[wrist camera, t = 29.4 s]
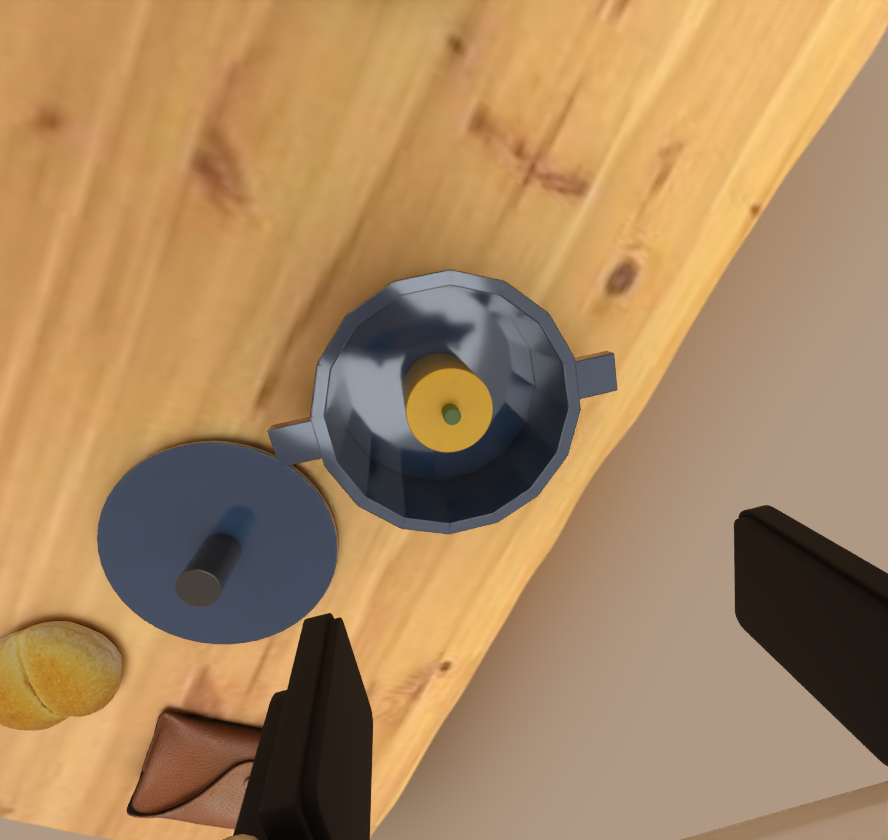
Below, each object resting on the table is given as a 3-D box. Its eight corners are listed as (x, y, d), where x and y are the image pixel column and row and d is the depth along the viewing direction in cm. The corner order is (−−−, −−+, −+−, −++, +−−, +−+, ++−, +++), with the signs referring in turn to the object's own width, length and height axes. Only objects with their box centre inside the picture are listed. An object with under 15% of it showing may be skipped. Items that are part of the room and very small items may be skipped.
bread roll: (145, 682, 38) (118, 727, 34) (34, 715, 37) (-5, 764, 34) (97, 600, 35) (63, 639, 32) (-22, 634, 35) (-72, 678, 31)
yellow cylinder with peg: (395, 361, 32) (397, 383, 26) (467, 346, 33) (489, 362, 26) (411, 431, 34) (417, 468, 27) (480, 415, 34) (504, 448, 27)
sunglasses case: (369, 742, 42) (354, 843, 37) (352, 754, 46) (337, 845, 42) (155, 708, 38) (108, 814, 33) (161, 725, 43) (121, 820, 38)
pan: (259, 309, 31) (224, 316, 24) (563, 245, 32) (610, 235, 25) (323, 515, 36) (309, 568, 29) (587, 453, 37) (631, 490, 30)
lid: (66, 467, 32) (2, 504, 27) (304, 414, 33) (288, 439, 28) (157, 655, 37) (118, 719, 32) (362, 604, 38) (358, 658, 33)
